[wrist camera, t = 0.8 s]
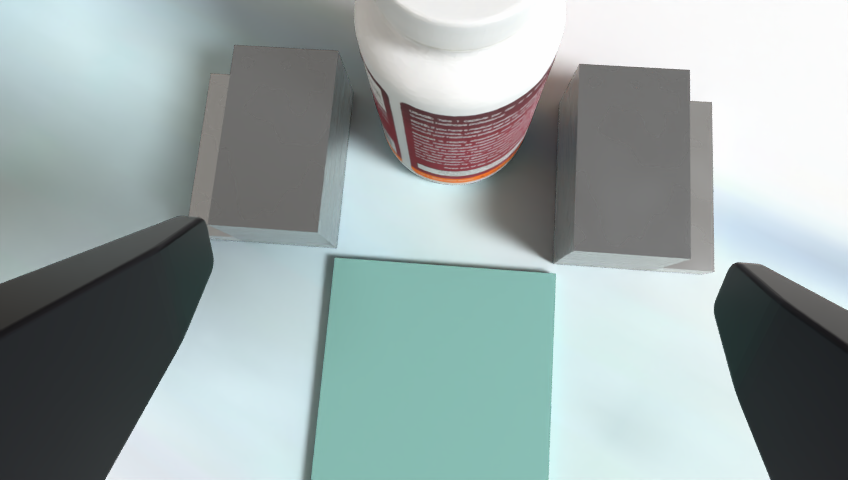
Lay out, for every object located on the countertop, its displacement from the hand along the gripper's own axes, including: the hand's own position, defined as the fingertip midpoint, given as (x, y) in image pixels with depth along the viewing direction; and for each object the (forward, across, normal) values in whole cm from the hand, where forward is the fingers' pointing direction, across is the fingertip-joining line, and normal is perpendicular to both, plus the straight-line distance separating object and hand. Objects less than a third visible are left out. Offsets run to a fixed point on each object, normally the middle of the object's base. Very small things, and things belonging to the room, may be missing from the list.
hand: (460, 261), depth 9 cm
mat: (+8, 0, +11) cm, 13 cm away
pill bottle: (+15, 0, +3) cm, 15 cm away
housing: (+13, 0, +5) cm, 14 cm away
